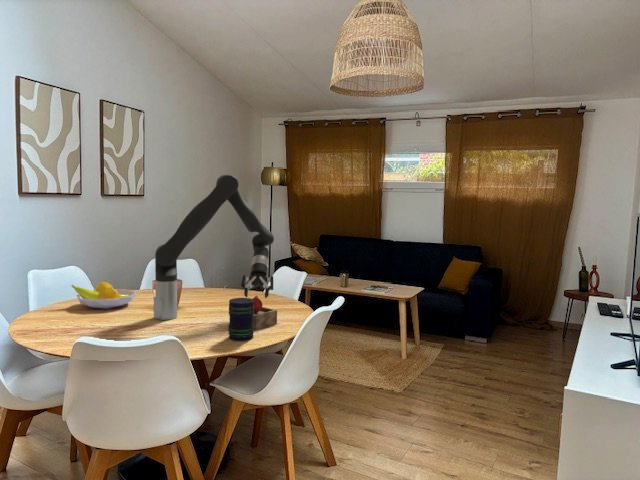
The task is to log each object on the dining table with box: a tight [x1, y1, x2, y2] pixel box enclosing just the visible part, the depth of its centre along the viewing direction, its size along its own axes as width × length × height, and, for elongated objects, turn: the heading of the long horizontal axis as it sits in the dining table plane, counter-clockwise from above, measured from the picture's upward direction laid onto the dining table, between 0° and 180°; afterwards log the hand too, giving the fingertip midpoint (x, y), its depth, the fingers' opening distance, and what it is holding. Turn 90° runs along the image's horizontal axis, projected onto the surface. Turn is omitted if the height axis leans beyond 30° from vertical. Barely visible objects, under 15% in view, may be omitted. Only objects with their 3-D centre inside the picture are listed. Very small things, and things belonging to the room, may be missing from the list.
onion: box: [252, 295, 264, 314], centre depth 202 cm, size 6×6×8 cm
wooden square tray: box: [253, 306, 278, 331], centre depth 202 cm, size 13×13×6 cm
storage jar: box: [228, 297, 255, 342], centre depth 182 cm, size 10×10×15 cm
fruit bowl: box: [71, 281, 137, 310], centre depth 228 cm, size 28×27×11 cm
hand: (256, 296), depth 202 cm, fingers open, 8 cm apart
